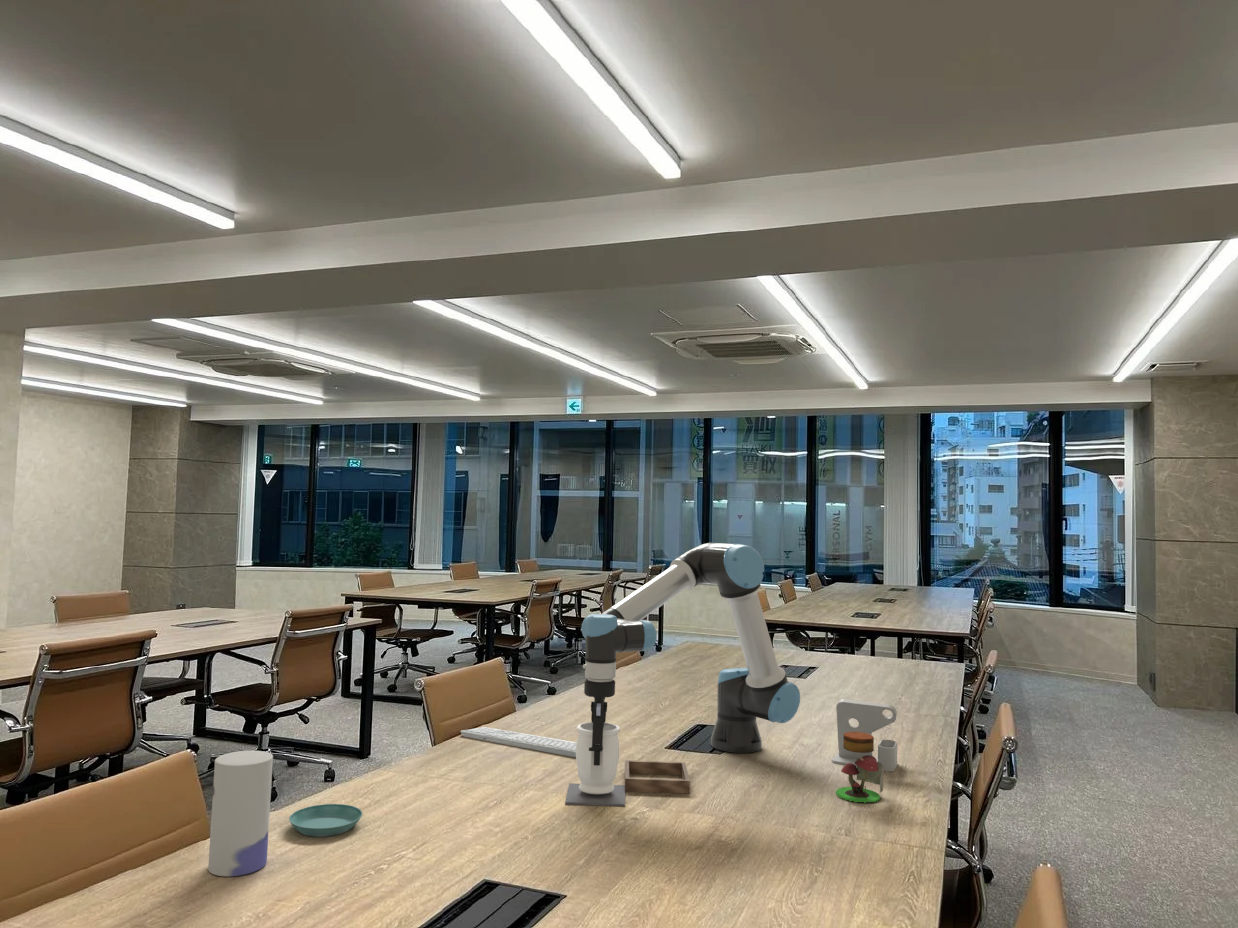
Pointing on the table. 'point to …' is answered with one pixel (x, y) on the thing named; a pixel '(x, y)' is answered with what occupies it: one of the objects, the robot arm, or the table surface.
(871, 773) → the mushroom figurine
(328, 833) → the saucer
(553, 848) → the table surface
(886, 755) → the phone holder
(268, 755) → the container
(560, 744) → the keyboard
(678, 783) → the holder frame
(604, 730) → the jar
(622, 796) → the felt pad
